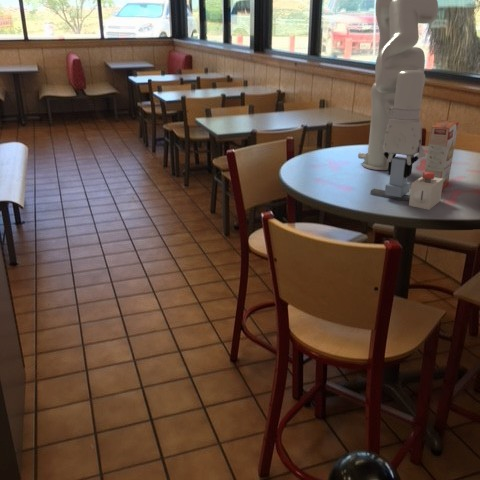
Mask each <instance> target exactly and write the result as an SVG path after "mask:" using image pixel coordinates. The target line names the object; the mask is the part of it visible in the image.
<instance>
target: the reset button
mask: <svg viewBox="0 0 480 480" xmlns="http://www.w3.org/2000/svg"><path fill="white" fill-rule="evenodd" d="M421 177H423V178H425V182H426V183H431V179H434V178H435V173H433V172H425V171H424V172H422V176H421Z"/></svg>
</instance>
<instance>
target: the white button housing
mask: <svg viewBox="0 0 480 480" xmlns="http://www.w3.org/2000/svg"><path fill="white" fill-rule="evenodd" d="M443 180H444V179H442V178H436V177H435V178H434V179H431V183H426V182H425V178H423V177H422V176H421V177H419V178H417V179H416V180H413V182H411V184H410V191H409V193H410V194H409V195H410V200H409V201H408V202H409V203H408V206H409V207H414V208H419V209H423V210H430V209H432V208H433V207H434V206H436V205H437V204H438V203H439V202H441V198H442V191H443V189H442V186H443Z"/></svg>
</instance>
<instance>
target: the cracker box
mask: <svg viewBox="0 0 480 480" xmlns="http://www.w3.org/2000/svg"><path fill="white" fill-rule="evenodd" d="M459 123H460V122H459V121H455V120H443V119H442V120H440V121H438V122H437V123H435V124H433V125H432V126H431V127H430V128H431V129H430V136H429V143H428V148H427V154H426V155H427V156H426V160H425V162H426V163H425V167H424V172H433V173H435V177H436V178H442V179H444V180H443V186H442V190H443V189H444V188H445V187H446V186H447V185H448V183H449V182H450V181H449V180H450V173H451V169H452V163H453V157H454V151H455V146H456V138H457V134H458V129H459Z"/></svg>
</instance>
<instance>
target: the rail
mask: <svg viewBox="0 0 480 480" xmlns="http://www.w3.org/2000/svg"><path fill="white" fill-rule="evenodd" d="M369 192H370V195H372V196H379V197H384V198H388V199H389V198H390V199H394V200H400V201H403V202H409V200H410V194H405V195H403V196H402V197H396V196H390V195H385V190H383V189H377V188H372V189H370V191H369Z"/></svg>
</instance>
